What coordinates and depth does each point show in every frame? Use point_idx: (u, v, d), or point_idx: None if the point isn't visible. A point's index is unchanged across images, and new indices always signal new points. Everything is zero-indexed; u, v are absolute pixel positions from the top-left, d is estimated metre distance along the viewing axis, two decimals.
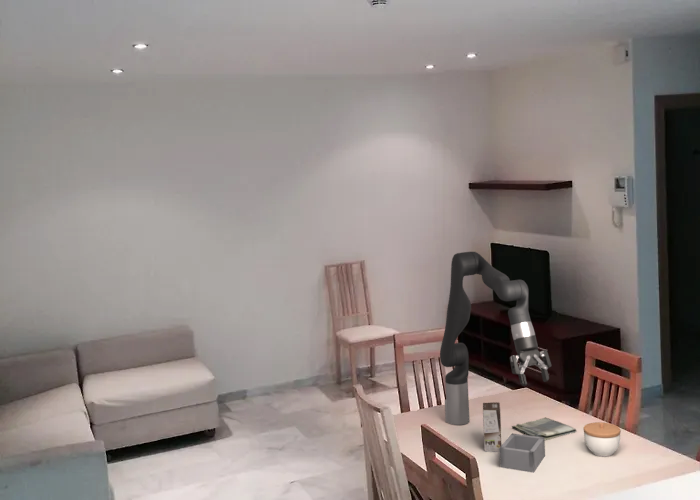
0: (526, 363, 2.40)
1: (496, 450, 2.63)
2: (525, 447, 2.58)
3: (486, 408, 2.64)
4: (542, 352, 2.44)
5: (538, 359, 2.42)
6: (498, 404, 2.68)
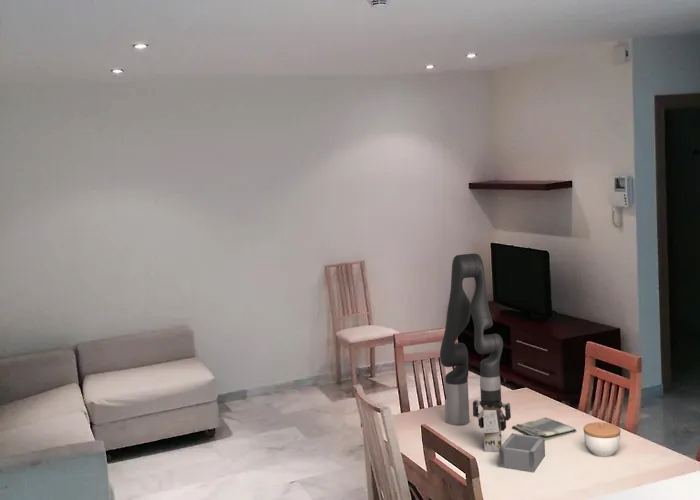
0: None
1: (496, 450, 2.63)
2: (525, 447, 2.58)
3: (486, 408, 2.64)
4: (504, 405, 2.63)
5: None
6: None
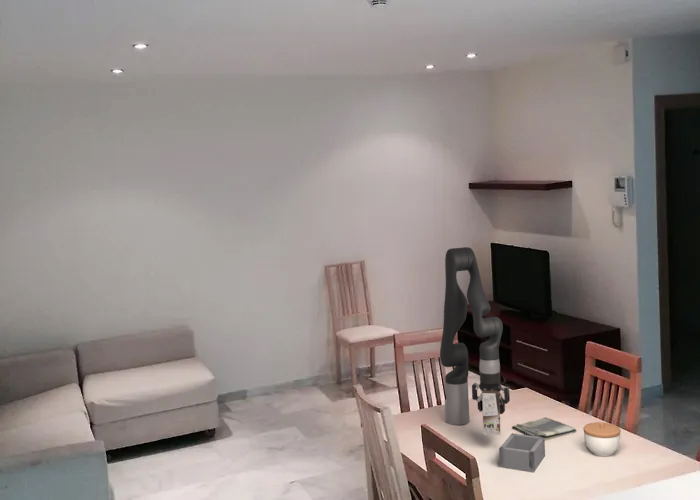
0: None
1: (495, 433, 2.63)
2: (525, 447, 2.58)
3: (485, 391, 2.64)
4: (503, 388, 2.62)
5: None
6: None
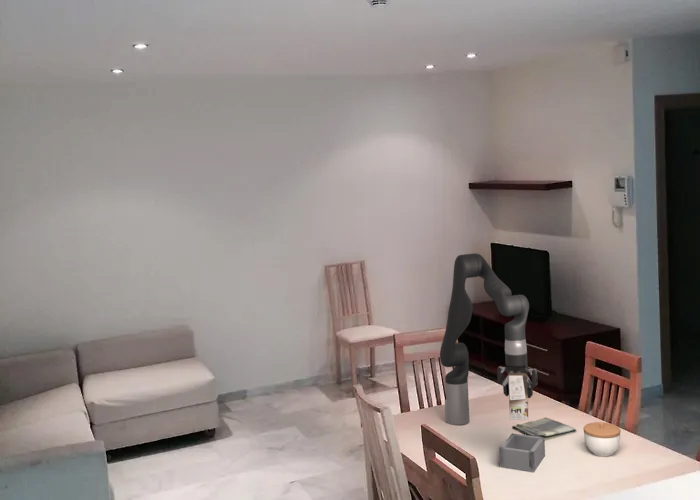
0: None
1: (523, 418, 2.47)
2: (525, 447, 2.58)
3: (512, 374, 2.49)
4: (531, 371, 2.48)
5: None
6: None
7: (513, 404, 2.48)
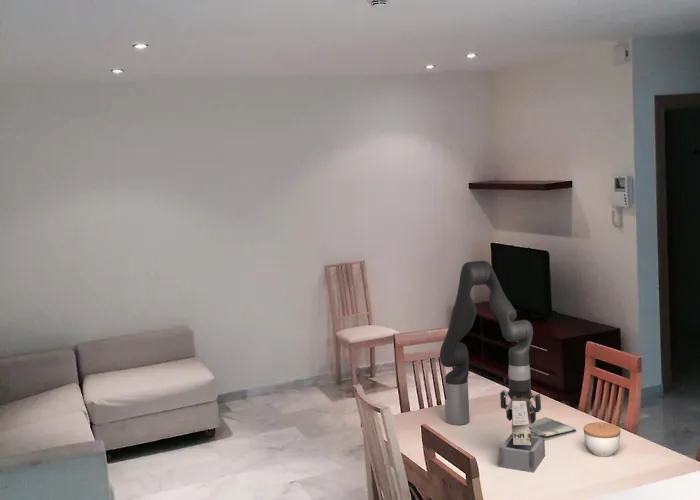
0: None
1: (526, 443, 2.48)
2: (525, 447, 2.58)
3: (515, 399, 2.49)
4: (534, 396, 2.48)
5: None
6: None
7: (516, 429, 2.48)
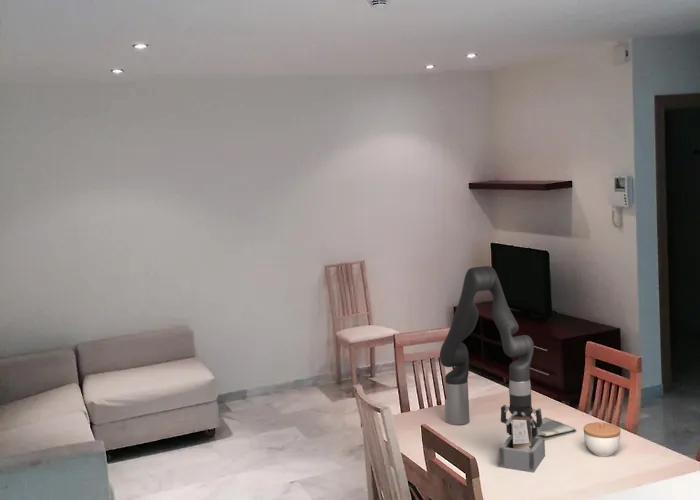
0: None
1: None
2: None
3: (515, 418, 2.50)
4: (535, 411, 2.48)
5: None
6: None
7: (516, 448, 2.49)
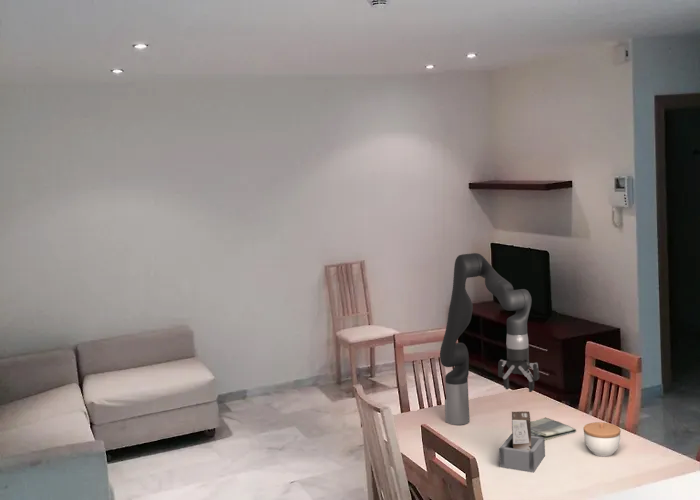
0: (509, 371, 2.51)
1: None
2: None
3: (515, 418, 2.50)
4: (532, 365, 2.48)
5: (523, 371, 2.48)
6: (528, 413, 2.53)
7: (516, 448, 2.49)
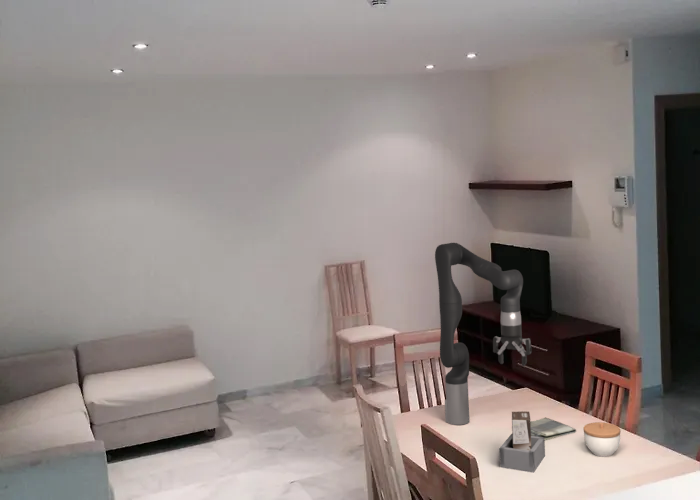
0: (503, 347, 2.69)
1: None
2: None
3: (515, 418, 2.50)
4: (525, 340, 2.65)
5: (516, 346, 2.66)
6: (528, 413, 2.53)
7: (516, 448, 2.49)
